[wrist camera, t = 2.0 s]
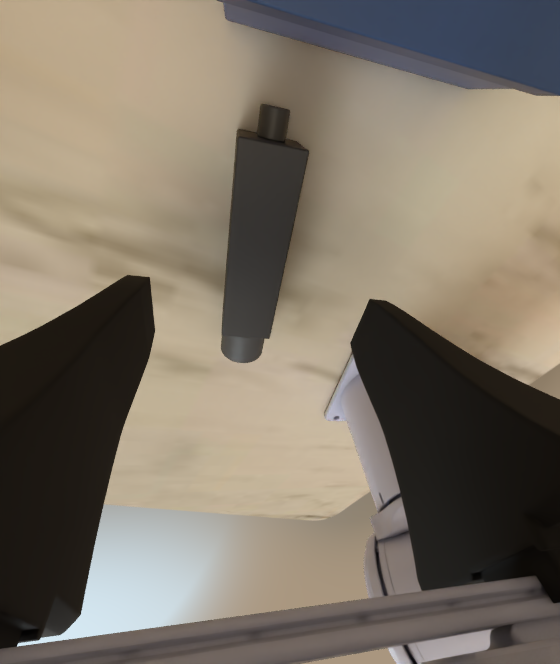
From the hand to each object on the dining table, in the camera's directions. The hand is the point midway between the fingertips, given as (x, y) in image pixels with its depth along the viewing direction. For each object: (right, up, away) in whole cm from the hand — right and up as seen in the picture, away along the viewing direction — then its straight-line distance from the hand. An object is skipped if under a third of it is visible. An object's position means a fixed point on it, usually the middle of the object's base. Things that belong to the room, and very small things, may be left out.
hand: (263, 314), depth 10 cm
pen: (-1, +4, +5) cm, 7 cm away
